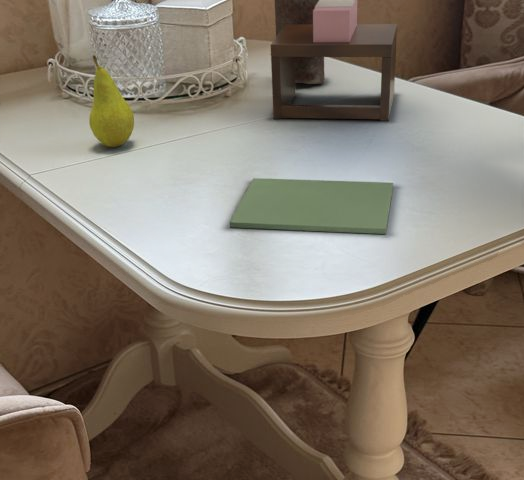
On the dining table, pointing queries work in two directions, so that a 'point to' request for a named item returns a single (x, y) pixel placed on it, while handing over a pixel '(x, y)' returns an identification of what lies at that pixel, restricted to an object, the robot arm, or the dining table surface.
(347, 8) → the block
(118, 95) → the fruit
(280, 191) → the placemat
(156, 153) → the dining table surface
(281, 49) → the shelf stand
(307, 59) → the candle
